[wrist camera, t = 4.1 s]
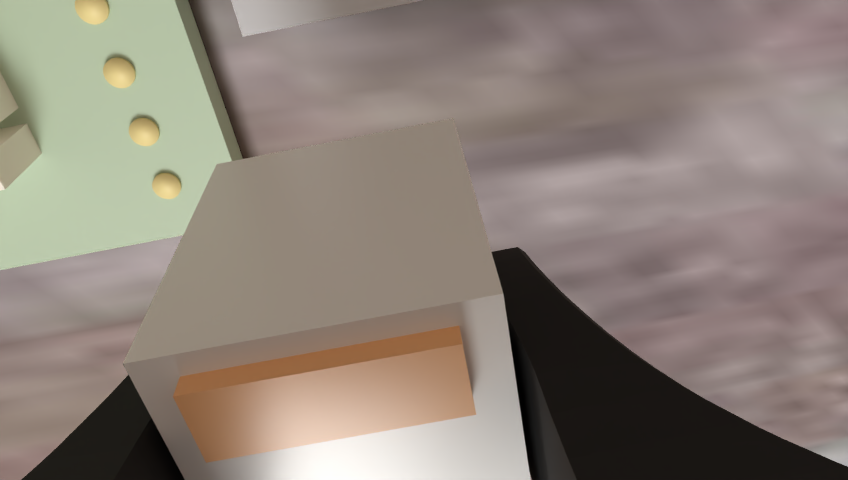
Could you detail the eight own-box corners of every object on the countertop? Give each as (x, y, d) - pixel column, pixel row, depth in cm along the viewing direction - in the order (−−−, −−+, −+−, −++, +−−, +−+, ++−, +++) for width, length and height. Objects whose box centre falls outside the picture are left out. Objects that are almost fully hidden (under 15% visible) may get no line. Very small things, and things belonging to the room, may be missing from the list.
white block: (492, 349, 14) (550, 602, 9) (298, 384, 14) (262, 651, 9) (453, 118, 11) (508, 311, 7) (216, 164, 11) (112, 384, 7)
